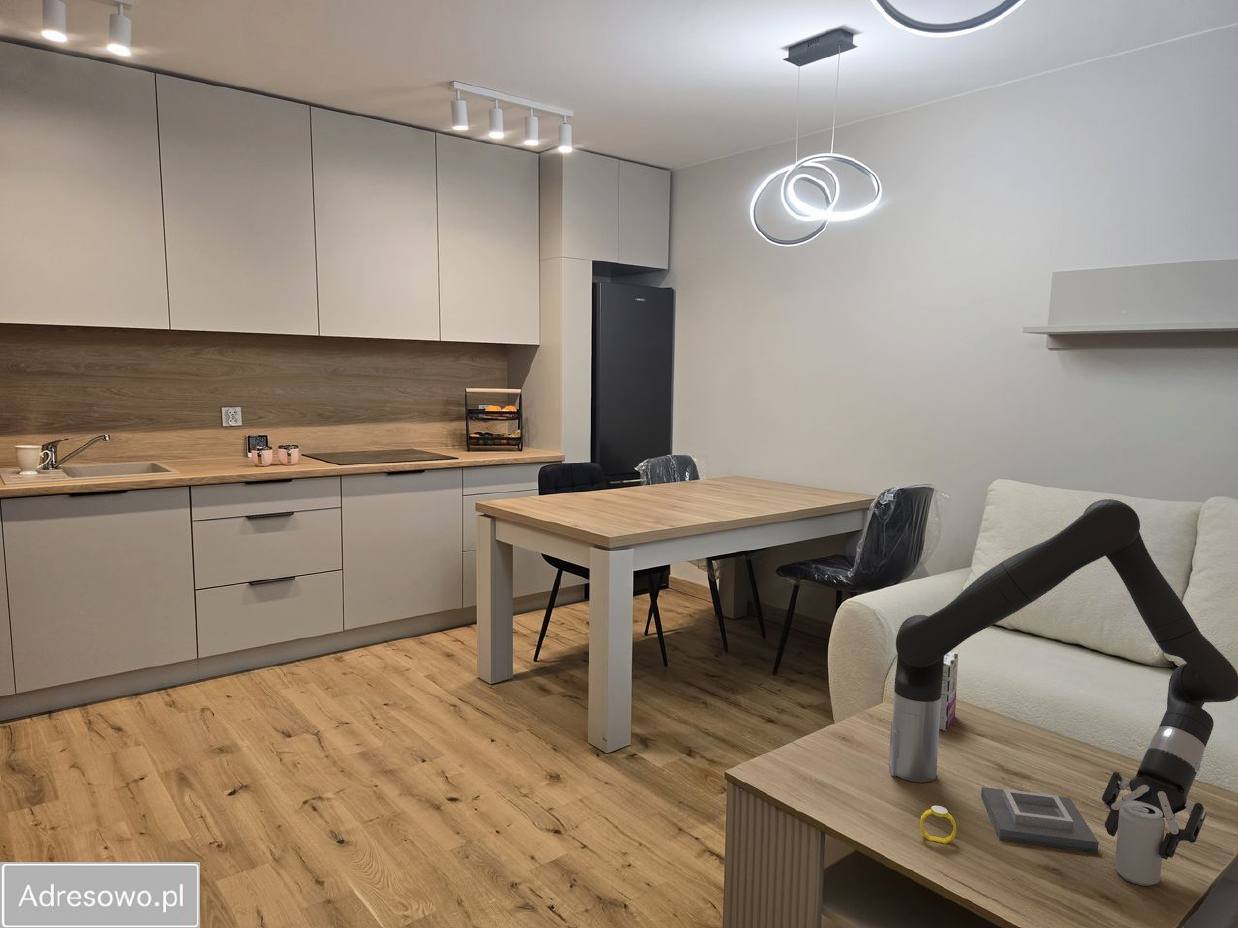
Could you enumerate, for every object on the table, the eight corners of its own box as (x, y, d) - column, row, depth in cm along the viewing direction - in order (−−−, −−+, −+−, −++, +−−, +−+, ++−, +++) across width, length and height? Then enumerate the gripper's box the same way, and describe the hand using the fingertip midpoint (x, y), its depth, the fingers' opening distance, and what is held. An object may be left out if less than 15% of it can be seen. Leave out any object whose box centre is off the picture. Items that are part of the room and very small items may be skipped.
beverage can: (1166, 890, 131) (1173, 820, 130) (1123, 885, 133) (1129, 815, 131) (1149, 868, 137) (1155, 801, 136) (1108, 863, 139) (1113, 796, 138)
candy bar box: (934, 711, 203) (938, 648, 202) (955, 716, 201) (959, 652, 199) (925, 726, 194) (928, 660, 192) (947, 732, 191) (951, 664, 190)
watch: (953, 841, 145) (958, 810, 144) (954, 849, 143) (959, 817, 142) (918, 831, 147) (922, 801, 146) (918, 839, 145) (922, 808, 144)
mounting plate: (999, 839, 145) (1000, 820, 145) (980, 796, 161) (982, 779, 160) (1097, 853, 142) (1099, 833, 141) (1069, 807, 157) (1070, 789, 157)
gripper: (1121, 734, 143) (1084, 815, 138) (1215, 765, 131) (1179, 855, 126) (1132, 755, 147) (1096, 835, 141) (1225, 788, 135) (1190, 876, 129)
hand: (1135, 844), depth 134 cm, fingers open, 7 cm apart
